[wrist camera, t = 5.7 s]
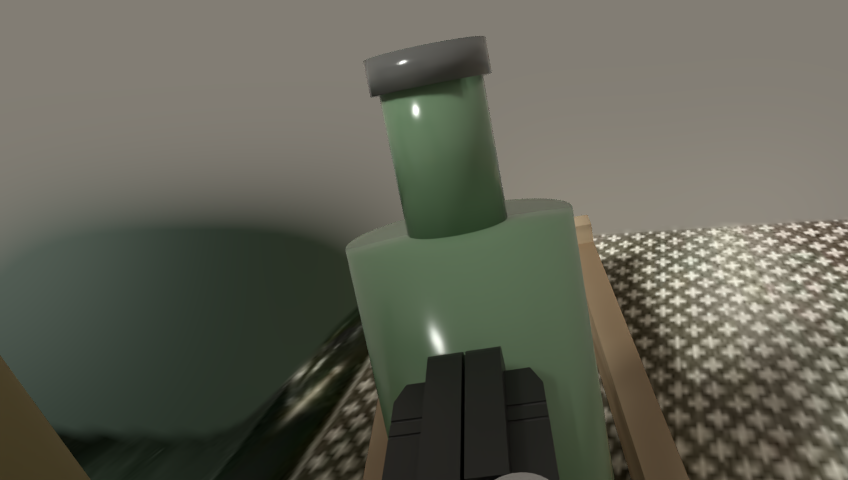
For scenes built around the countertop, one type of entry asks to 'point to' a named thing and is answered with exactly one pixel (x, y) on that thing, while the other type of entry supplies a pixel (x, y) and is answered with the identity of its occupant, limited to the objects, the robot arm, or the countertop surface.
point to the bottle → (473, 254)
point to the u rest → (621, 376)
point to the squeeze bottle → (30, 438)
